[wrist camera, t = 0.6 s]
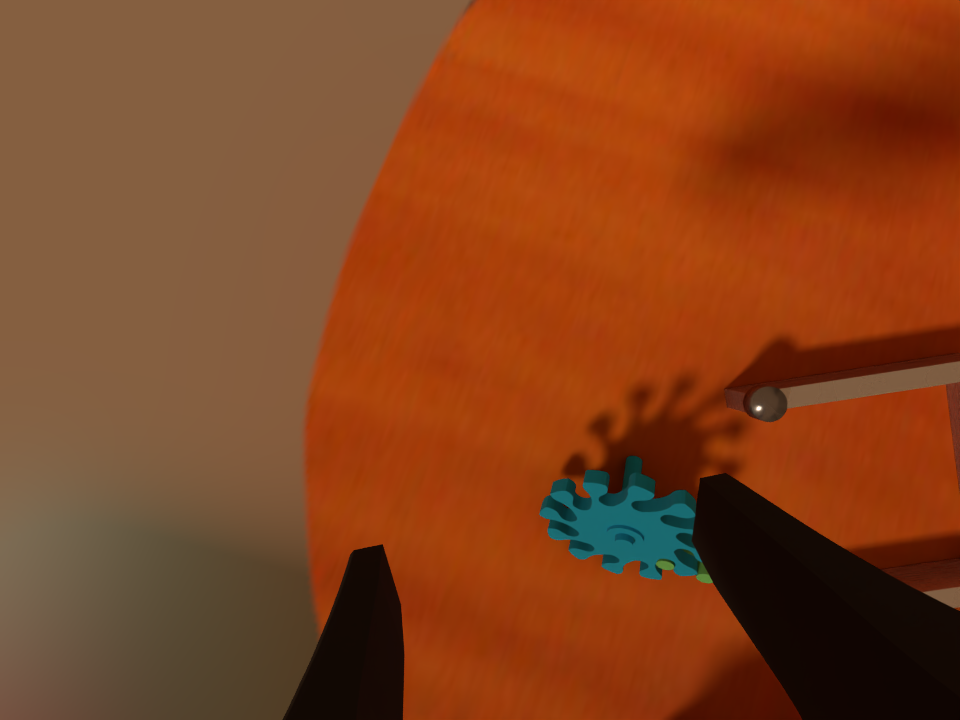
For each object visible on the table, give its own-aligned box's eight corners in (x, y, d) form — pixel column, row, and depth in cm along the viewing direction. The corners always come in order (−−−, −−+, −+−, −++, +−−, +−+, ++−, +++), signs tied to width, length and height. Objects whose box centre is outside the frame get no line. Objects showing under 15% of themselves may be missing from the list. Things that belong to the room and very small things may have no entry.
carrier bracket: (990, 578, 32) (1060, 610, 28) (749, 612, 33) (786, 650, 29) (960, 346, 32) (1027, 346, 28) (717, 383, 32) (749, 389, 28)
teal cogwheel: (506, 526, 31) (610, 468, 24) (530, 451, 35) (625, 382, 28) (645, 608, 33) (782, 577, 26) (653, 527, 37) (772, 481, 30)
